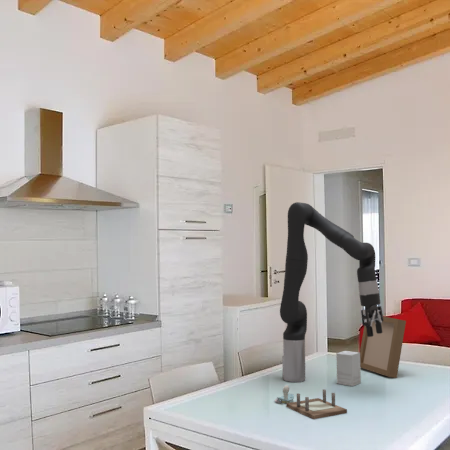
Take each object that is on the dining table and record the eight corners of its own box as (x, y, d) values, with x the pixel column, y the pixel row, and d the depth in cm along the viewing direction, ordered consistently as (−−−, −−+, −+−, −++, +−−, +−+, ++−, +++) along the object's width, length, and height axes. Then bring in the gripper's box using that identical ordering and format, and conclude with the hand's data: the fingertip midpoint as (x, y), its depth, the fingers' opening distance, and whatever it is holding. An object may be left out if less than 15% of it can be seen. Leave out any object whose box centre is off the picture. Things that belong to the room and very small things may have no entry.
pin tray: (286, 406, 195) (286, 390, 195) (318, 401, 201) (318, 385, 201) (313, 419, 180) (313, 402, 181) (347, 413, 187) (346, 396, 187)
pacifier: (271, 402, 201) (283, 405, 197) (270, 385, 201) (283, 387, 197) (283, 398, 206) (296, 401, 202) (283, 381, 206) (295, 383, 202)
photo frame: (388, 379, 234) (387, 319, 235) (357, 368, 254) (356, 314, 255) (416, 375, 240) (414, 317, 241) (383, 365, 260) (382, 312, 261)
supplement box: (361, 383, 227) (360, 352, 227) (352, 386, 222) (351, 355, 222) (345, 380, 232) (345, 350, 232) (336, 383, 227) (335, 352, 227)
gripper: (367, 292, 223) (373, 332, 221) (352, 295, 212) (358, 337, 210) (385, 290, 218) (391, 332, 216) (370, 293, 207) (376, 337, 205)
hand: (375, 334), depth 213 cm, fingers open, 8 cm apart
